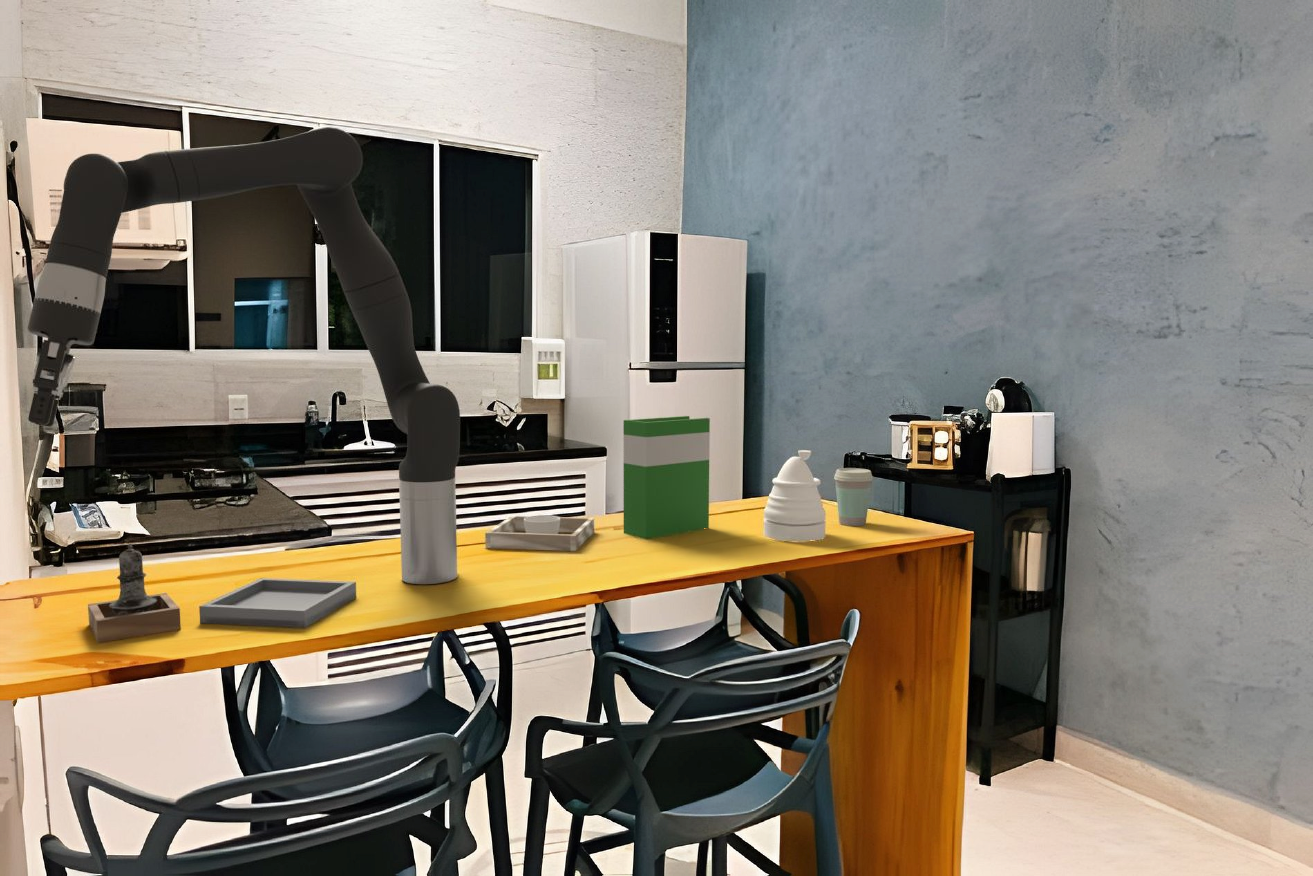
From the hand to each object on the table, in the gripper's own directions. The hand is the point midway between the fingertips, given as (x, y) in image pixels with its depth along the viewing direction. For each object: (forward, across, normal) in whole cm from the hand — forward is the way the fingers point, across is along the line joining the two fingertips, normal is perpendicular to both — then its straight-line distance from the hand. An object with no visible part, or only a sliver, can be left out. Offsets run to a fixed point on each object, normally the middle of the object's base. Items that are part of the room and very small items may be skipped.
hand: (40, 424), depth 121 cm
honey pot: (-3, +10, -133) cm, 134 cm away
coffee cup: (-8, +14, -152) cm, 153 cm away
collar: (+26, +6, -16) cm, 31 cm away
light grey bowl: (+6, +32, -86) cm, 92 cm away
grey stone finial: (+26, +6, -16) cm, 31 cm away
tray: (+21, +5, -35) cm, 41 cm away
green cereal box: (0, +27, -112) cm, 116 cm away
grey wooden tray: (+6, +32, -86) cm, 92 cm away
